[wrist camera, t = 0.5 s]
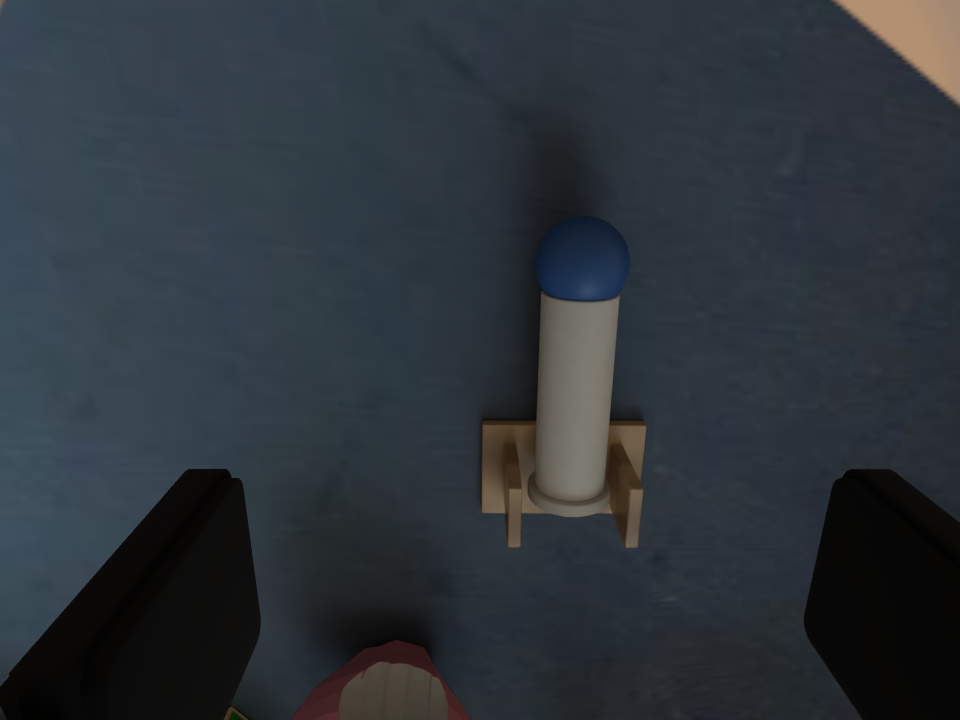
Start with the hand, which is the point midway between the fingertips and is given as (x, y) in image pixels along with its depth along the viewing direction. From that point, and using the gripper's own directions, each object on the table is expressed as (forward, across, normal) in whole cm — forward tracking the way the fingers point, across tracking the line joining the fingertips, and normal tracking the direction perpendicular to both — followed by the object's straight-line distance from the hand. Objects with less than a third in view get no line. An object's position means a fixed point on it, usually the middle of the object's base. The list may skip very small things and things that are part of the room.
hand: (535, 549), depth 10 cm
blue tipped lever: (+19, -3, +3) cm, 19 cm away
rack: (+20, -4, +9) cm, 22 cm away
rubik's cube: (+20, +15, +29) cm, 39 cm away
